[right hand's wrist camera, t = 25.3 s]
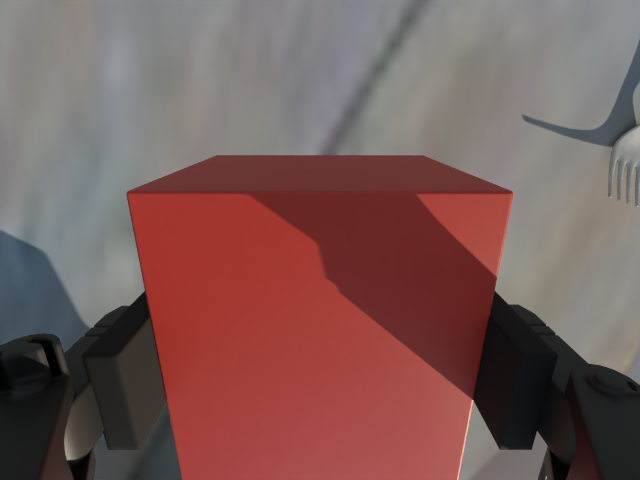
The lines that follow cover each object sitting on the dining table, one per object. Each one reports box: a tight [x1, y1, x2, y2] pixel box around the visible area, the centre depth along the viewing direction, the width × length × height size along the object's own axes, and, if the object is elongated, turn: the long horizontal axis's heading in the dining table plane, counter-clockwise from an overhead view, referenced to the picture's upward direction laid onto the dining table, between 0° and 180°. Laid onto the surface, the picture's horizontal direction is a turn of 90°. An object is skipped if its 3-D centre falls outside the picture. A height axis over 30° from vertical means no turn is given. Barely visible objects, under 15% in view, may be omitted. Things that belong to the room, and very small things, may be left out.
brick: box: [127, 155, 513, 480], centre depth 12 cm, size 9×9×7 cm
